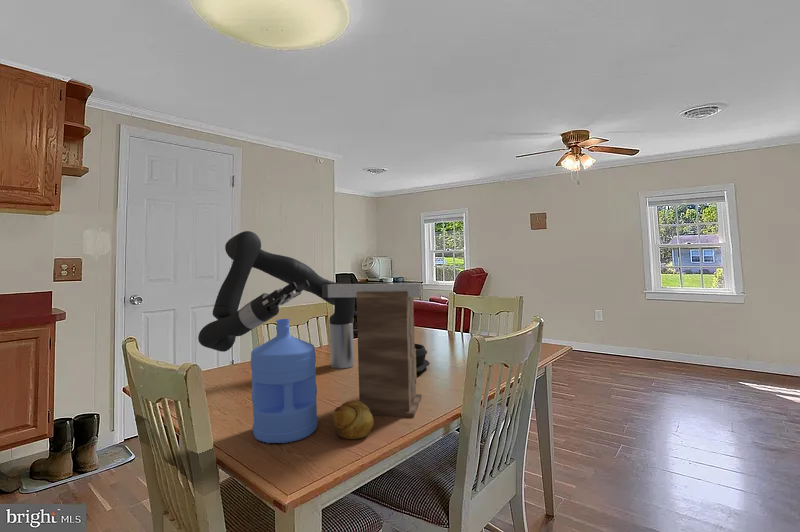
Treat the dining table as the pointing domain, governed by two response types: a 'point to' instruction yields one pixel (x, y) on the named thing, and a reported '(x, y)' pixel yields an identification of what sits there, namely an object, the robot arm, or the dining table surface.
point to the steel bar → (369, 289)
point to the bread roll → (353, 420)
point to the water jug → (284, 388)
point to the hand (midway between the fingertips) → (302, 283)
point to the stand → (387, 353)
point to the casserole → (420, 358)
